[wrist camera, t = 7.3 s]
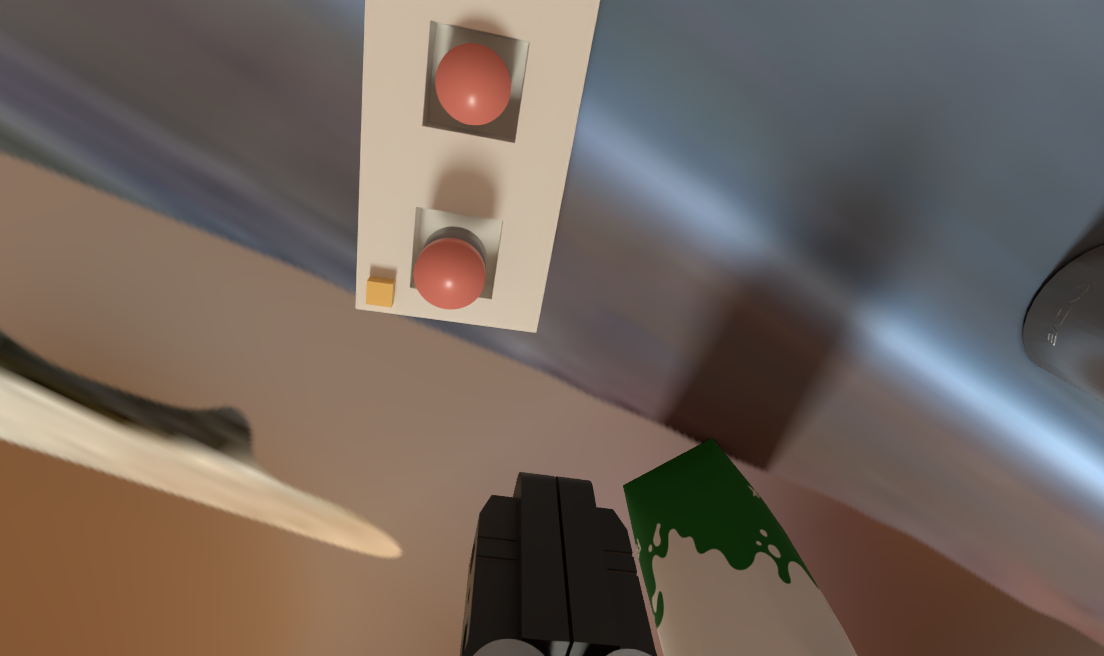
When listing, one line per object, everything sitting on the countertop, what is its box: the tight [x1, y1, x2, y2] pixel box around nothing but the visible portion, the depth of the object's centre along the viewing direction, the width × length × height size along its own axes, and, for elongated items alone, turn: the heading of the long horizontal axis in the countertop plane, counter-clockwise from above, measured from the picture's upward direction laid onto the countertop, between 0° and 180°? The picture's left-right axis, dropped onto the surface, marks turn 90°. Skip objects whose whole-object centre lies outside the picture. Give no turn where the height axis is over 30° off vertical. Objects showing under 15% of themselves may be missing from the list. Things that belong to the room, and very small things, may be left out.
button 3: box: [413, 226, 487, 310], centre depth 24 cm, size 3×3×3 cm
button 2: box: [435, 43, 511, 125], centre depth 23 cm, size 3×3×3 cm
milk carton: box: [623, 438, 857, 656], centre depth 30 cm, size 9×9×20 cm
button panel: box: [356, 0, 600, 333], centre depth 23 cm, size 9×26×5 cm, turn 169°
